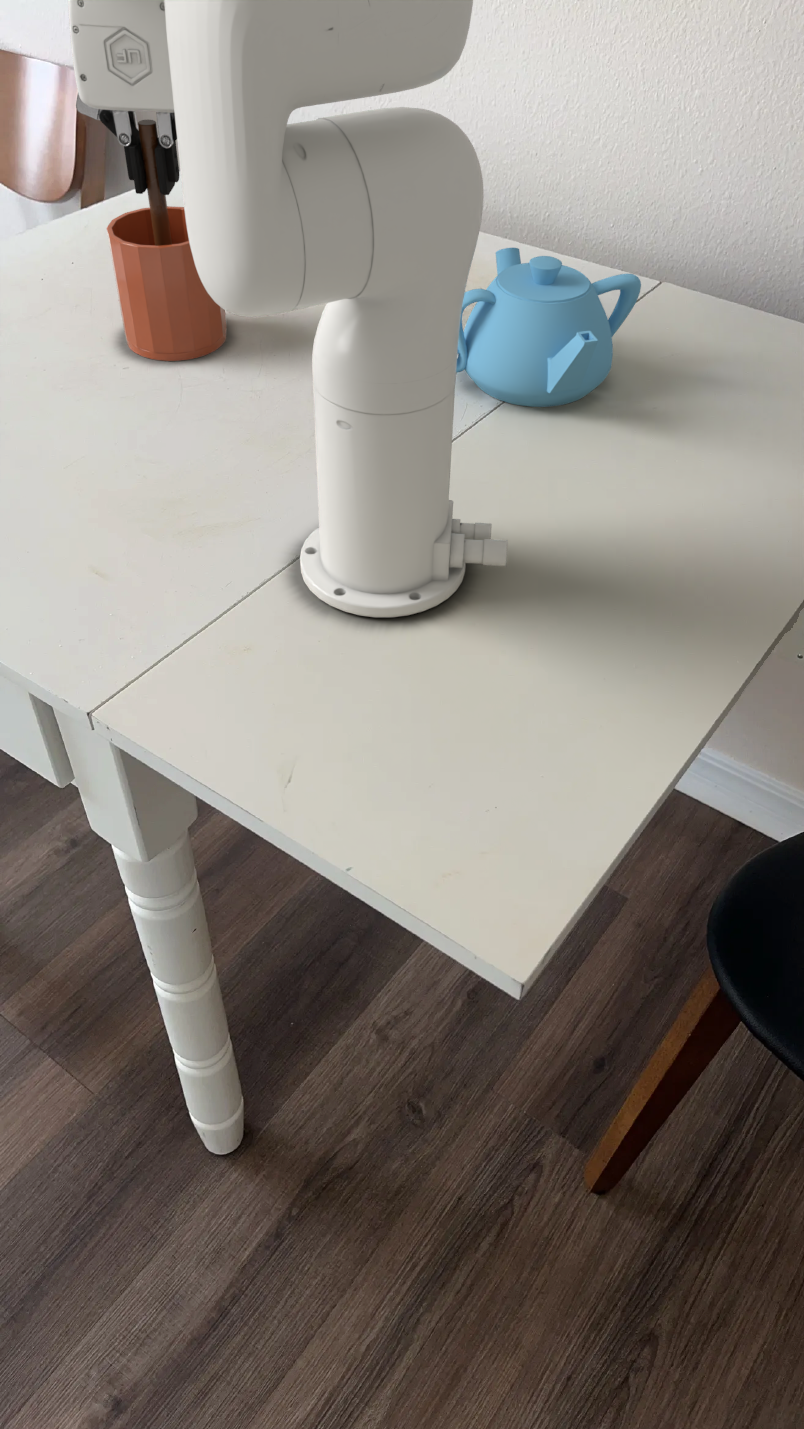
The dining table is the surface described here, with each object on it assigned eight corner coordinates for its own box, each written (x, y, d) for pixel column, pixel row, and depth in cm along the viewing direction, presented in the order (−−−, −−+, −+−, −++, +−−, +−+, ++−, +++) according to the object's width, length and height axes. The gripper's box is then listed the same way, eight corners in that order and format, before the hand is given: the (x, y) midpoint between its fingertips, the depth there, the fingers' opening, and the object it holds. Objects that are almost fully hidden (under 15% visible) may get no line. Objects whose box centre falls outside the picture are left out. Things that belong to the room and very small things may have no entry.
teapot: (637, 354, 108) (657, 240, 100) (581, 435, 97) (599, 314, 89) (495, 322, 113) (503, 211, 105) (426, 396, 102) (430, 278, 94)
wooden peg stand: (201, 289, 108) (181, 114, 97) (190, 312, 104) (168, 132, 93) (152, 287, 108) (126, 112, 97) (139, 309, 105) (111, 130, 93)
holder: (234, 318, 112) (224, 208, 105) (216, 363, 105) (203, 249, 97) (140, 313, 113) (122, 204, 105) (115, 358, 106) (94, 244, 98)
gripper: (10, -47, 84) (59, 200, 97) (211, -39, 83) (233, 208, 96) (40, -66, 89) (83, 171, 102) (229, -59, 88) (247, 178, 101)
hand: (155, 187), depth 99 cm, fingers closed on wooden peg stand
